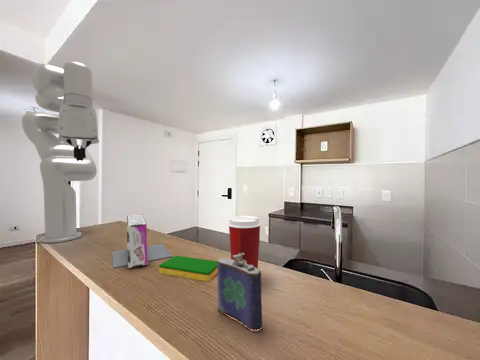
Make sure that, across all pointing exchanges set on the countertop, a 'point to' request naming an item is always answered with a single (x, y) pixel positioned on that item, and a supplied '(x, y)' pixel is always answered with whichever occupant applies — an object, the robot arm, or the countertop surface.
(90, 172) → the robot arm
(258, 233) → the paper cup
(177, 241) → the countertop surface
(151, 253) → the mat
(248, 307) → the flask
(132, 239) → the candy bar box
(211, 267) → the dish sponge
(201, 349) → the countertop surface
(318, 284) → the countertop surface
